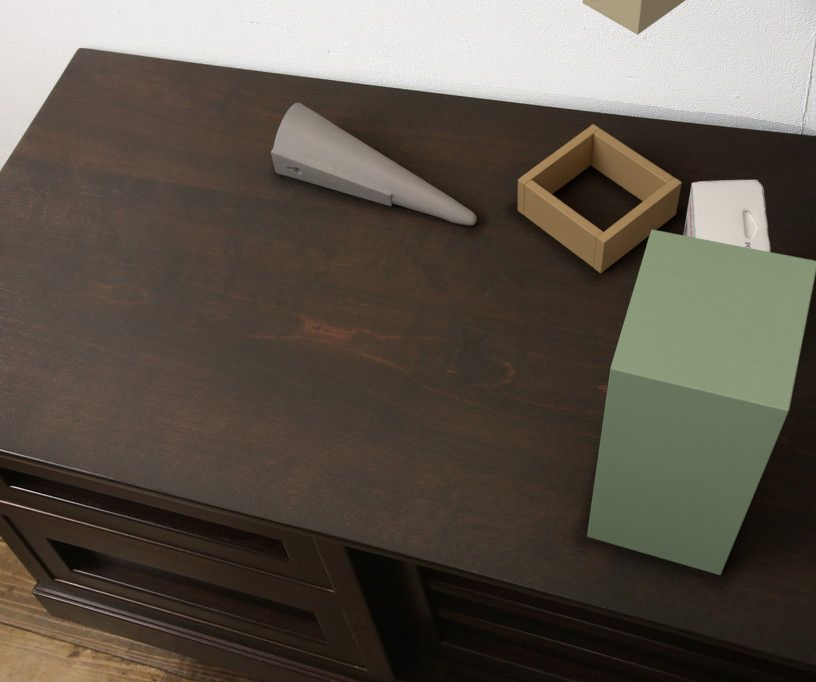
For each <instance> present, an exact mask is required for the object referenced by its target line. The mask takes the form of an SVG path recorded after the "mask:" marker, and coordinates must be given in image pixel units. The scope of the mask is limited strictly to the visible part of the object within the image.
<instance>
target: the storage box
mask: <svg viewBox="0 0 816 682" xmlns="http://www.w3.org/2000/svg"><path fill="white" fill-rule="evenodd" d="M590 166H591V167H592V168H594V169H595V170H596V171H598V172H599V173H601V174H603V175H604V176H605V177H607V178H608V179H610V180H611V181H613V182H614V183H615V184H617V185H618V186H620V187H621V188H622V189H624V190H625V191H627V192H628V193H630V194H632V195H633V196H634V197H636V198H638V199H639V200H640V201H641V203H639V204H638V205H637V206H636V207H634V208H632V210H630V211H629V212H628V213H627V214H625V215H623V217H621V218H620V219H618V220H617V221H616V222H615V223H613V224H612V225H610V226H609V227H608V228H607V229H606V230H605V231H603V230H601V229H600V228H599V227H597V226H596V225H595V224H593V223H592V222H591V221H589V220H588V219H587V218H585V217H584V216H583V215H581V214H580V213H578V212H577V211H575V210H574V209H573V208H572V207H570V206H569V205H567V204H565V203H564V202H563V201H562V200H560V199H559V198H557V197H556V196H555V195H553V194H555V193H556V192H557V191H558V190H560V189H561V188H563V187H564V186H566V185H567V184H568V183H569V182H571V181H572V180H573V179H575V178H576V177H577V176H579V175H580V174H581V173H582V172H584V171H585V170H587V169H588V168H589V167H590ZM682 184H683V182H682V181H681V180H679V179H678V178H676V177H674V176H672V174H670V173H668V172H666V171H665V170H664V169H662V168H660V167H659V166H657V165H656V164H654V163H653V162H652V161H650V160H649V159H647V158H645V157H644V156H642V155H641V154H639V153H638V152H636V151H635V150H633V149H631V147H629V146H628V145H626V144H624V143H623V142H622V141H620V140H619V139H616V138H615V137H614V136H612V135H610V134H609V133H608V132H606V131H605V130H603V129H602V128H600V127H599V126H597V125H596V124H591V125H590V126H589V127H587V128H586V129H584V130H583V131H582V132H580V133H579V134H577V135H576V136H574V137H573V138H572V139H570V140H569V141H568V142H566V143H565V144H564V145H563V146H561V147H560V148H558V149H557V150H556V151H554V152H553V153H551V154H550V155H549V156H547V157H546V158H544V160H542V161H540V163H538V164H537V165H536V166H534V167H533V168H531V169H529V170H528V171H527V172H526V173H525V174H523V175H522V176H520V177H519V178H518V179H517V212H518V213H520V214H521V215H523V216H524V217H525V218H527V219H528V220H529V221H531V222H532V223H533V224H535V226H537V227H539V228H540V229H541V230H542V231H544V232H545V233H547V234H548V235H549V236H551V237H552V238H554V239H555V240H556V241H557V242H558V243H560V244H561V245H562V246H564V247H565V248H567V250H569V251H570V252H571V253H574V254H575V255H576V256H577V257H578V258H580V259H581V260H582V261H584V262H585V263H586V264H588V265H589V266H590V267H592V268H593V269H594V270H595V271H596V272H598V273H599V274H602V273H604V271H606V270H607V269H609V268H610V267H611V266H613V265H614V264H615V263H616V262H617V261H619V260H620V259H621V258H623V257H624V256H625V255H626V254H627V253H629V252H631V250H633V249H634V248H635V247H637V246H638V245H639V244H640V243H642V242H643V241H644V240H645V239H646V238H649V236H650V233H651V230H657V231H658V229H660V228H661V227H662V226H664V224H666V223H668V221H669V220H671V219H672V218H673V217H675V216H676V215H677V211H678V210H677V209H678V204H679V199H680V194H681V189H682Z"/></svg>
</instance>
